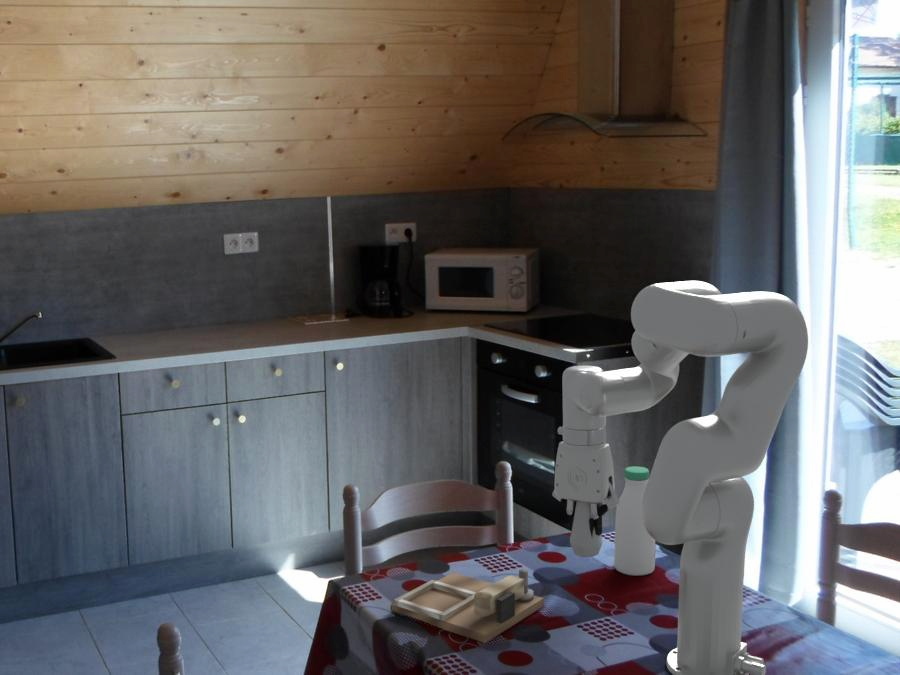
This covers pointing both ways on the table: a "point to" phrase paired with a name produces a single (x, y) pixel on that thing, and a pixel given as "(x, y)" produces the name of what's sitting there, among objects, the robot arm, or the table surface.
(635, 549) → the milk bottle
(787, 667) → the table surface
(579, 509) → the salt shaker
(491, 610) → the leg
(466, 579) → the wooden activity board
